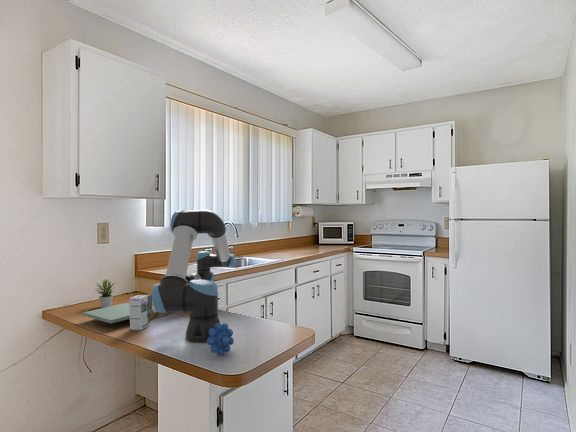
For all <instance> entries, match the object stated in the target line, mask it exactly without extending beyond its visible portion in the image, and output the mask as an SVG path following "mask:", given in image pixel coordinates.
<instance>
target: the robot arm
mask: <svg viewBox="0 0 576 432" xmlns="http://www.w3.org/2000/svg"><path fill="white" fill-rule="evenodd" d="M169 226H170V227H169V228H170V231H171V233H172V235H173V236H174V240H173V242H172V247H171V252H170V255H169V259H168V264H167V268H166V273H165V275H164V276H162V277H161V279H160V281H159V283H155V284H153V286H152V291H151V295H152V302H153V306H154V309H155V310H156V311H157V312H163V313H171V314H175V313H189V321H188V325H187V328H186V331H185V340H186V341H188V342H192V343H207V339H208V338H209V337H211V336H210V335H209V330H210V329H211V328H214V326H215V324H216V323H220V324H221V321H220V318H219V290H218V284H217V283H216V282H214V281H215V275H214V274H215V273H214V272H213V271H211V268H234V267H235V265H236V255H235V254H233V253H230V252H231V251H230V248H229V243H228V240H227V236H226V232H227V227H226V224H225V223H224V221H223V219H222V218H221V217H220V216H219V215H218V214H217V213H215V212H213V211H211V210H208V209H201V210H200V209H196V210H195V209H192V210H190V209H189V210H185V209H181V210H177V211H174V212H173V213H172V215H171V218H170V225H169ZM198 234H200V235H201V234H207V235H208V237H210V239H211V241H212V245H213V249H214V251H215V254H211V252H210V251H207V250H206V251H205V250H202V251H198V252H197V253H196V268H197V269H196V272H194V273H188V268H189V262H190V257H191V253H192V247H193V243H194V241H195V240H196V239H197V237H198ZM187 273H188V274H187Z"/></svg>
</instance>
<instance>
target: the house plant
mask: <svg viewBox="0 0 576 432" xmlns="http://www.w3.org/2000/svg"><path fill="white" fill-rule="evenodd" d="M114 284H115V282H113V283H112V284H111V281H110V280H109V278H107V279H104V280H102V285H101V284H100V283H99V282H96V286H97V287H98V288H95V291H93V292H94V293H95V292H97V294H100V295H99V297H98V299H99V303H100V307H101V308H106V307H110V306H113V305H112V303H113V297H114V295H113V294H112V293H113V292H115V290H114V291H113V289H115V287H114ZM112 287H113V288H112ZM101 308H100V309H101Z"/></svg>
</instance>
